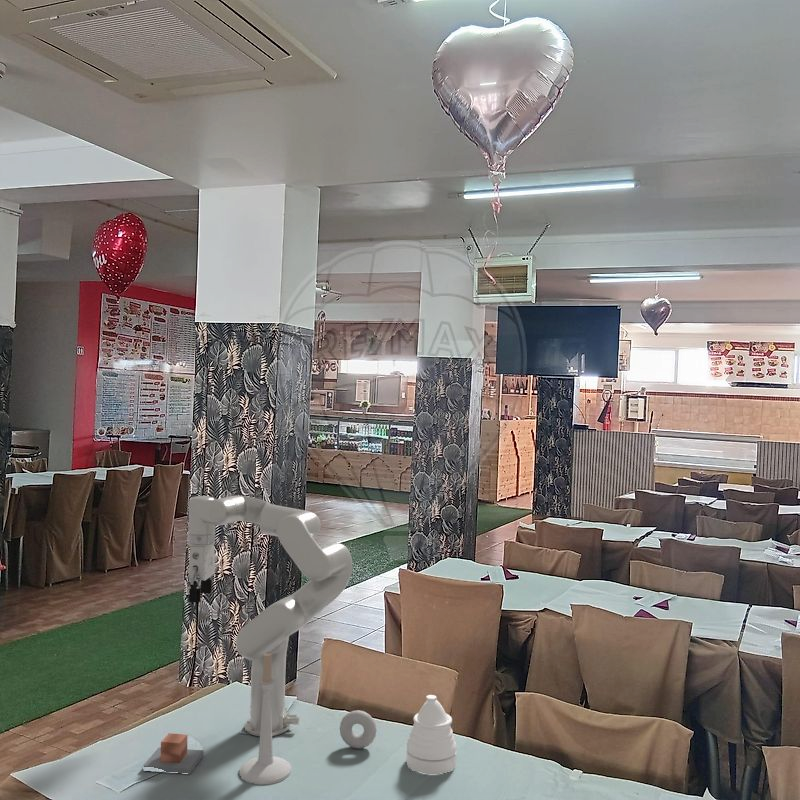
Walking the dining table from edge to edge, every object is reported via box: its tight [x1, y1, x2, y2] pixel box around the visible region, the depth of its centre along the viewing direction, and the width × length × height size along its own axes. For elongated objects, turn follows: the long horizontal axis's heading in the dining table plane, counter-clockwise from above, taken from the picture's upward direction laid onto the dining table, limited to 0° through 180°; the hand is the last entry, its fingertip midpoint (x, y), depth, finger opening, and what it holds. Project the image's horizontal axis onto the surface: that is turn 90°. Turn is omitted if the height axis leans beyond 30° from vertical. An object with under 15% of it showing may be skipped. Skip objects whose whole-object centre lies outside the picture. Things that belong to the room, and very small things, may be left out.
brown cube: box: [160, 732, 189, 763], centre depth 201 cm, size 5×5×5 cm
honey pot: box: [405, 694, 457, 774], centre depth 204 cm, size 13×13×18 cm
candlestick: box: [238, 653, 292, 785], centre depth 198 cm, size 13×13×30 cm
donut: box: [339, 709, 377, 749], centre depth 212 cm, size 10×4×10 cm, turn 82°
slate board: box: [142, 747, 204, 775], centre depth 201 cm, size 12×10×2 cm
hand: (200, 597), depth 231 cm, fingers open, 9 cm apart
